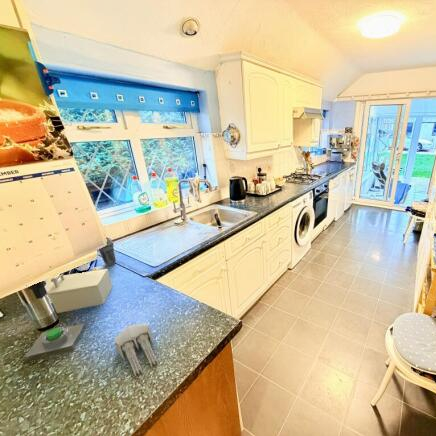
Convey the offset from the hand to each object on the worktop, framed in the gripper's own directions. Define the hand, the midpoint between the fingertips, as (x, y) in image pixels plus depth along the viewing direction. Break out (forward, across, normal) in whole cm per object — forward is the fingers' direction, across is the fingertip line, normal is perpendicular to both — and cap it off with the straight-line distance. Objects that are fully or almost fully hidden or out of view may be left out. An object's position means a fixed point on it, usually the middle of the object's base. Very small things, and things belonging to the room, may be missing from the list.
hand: (41, 295), depth 76 cm
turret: (+19, +26, -15) cm, 36 cm away
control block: (+19, 0, -2) cm, 19 cm away
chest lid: (+10, 0, +22) cm, 24 cm away
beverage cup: (+19, +1, +52) cm, 55 cm away
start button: (+15, 0, -2) cm, 15 cm away
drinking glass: (+19, -10, +49) cm, 53 cm away
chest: (+19, 0, +22) cm, 29 cm away
